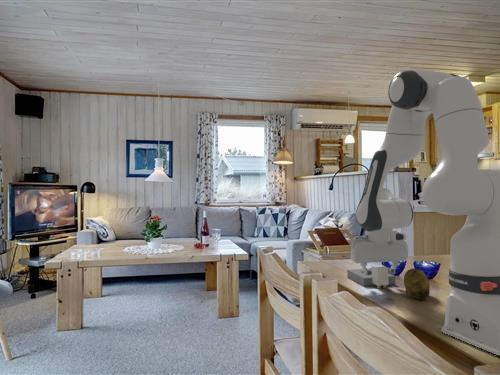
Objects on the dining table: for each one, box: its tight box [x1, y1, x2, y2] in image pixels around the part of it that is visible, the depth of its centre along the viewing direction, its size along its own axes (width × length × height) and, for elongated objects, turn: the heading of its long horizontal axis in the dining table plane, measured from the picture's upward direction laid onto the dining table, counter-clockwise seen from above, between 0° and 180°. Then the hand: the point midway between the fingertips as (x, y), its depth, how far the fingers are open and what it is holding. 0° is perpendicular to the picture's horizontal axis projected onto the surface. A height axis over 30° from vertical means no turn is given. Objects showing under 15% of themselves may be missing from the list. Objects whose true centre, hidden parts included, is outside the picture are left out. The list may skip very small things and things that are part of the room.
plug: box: [371, 264, 389, 289], centre depth 131 cm, size 4×4×7 cm
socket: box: [346, 267, 396, 288], centre depth 140 cm, size 14×12×3 cm
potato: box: [403, 268, 431, 301], centre depth 120 cm, size 8×13×8 cm, turn 150°
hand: (379, 274), depth 131 cm, fingers open, 8 cm apart
